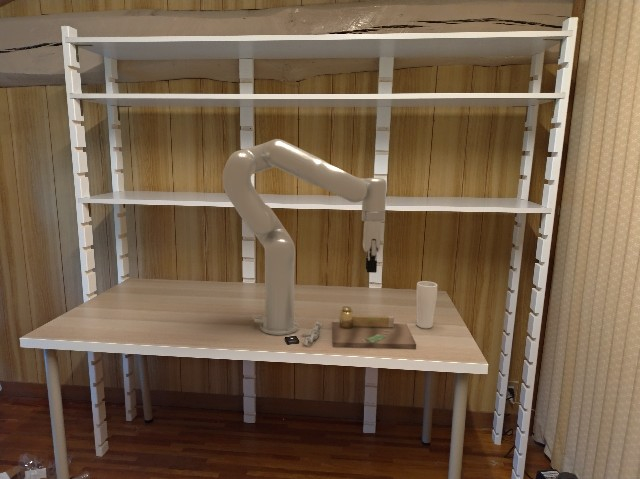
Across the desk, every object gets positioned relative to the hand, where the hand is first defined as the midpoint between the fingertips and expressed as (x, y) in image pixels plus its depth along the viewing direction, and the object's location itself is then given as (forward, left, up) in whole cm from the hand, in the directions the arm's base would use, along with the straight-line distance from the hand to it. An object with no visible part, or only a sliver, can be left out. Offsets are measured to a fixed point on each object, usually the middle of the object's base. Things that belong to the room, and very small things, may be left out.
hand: (371, 270), depth 155 cm
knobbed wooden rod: (-1, -6, -17) cm, 18 cm away
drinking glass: (+19, 0, -19) cm, 27 cm away
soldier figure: (-19, -14, -20) cm, 30 cm away
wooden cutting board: (0, -10, -19) cm, 22 cm away
